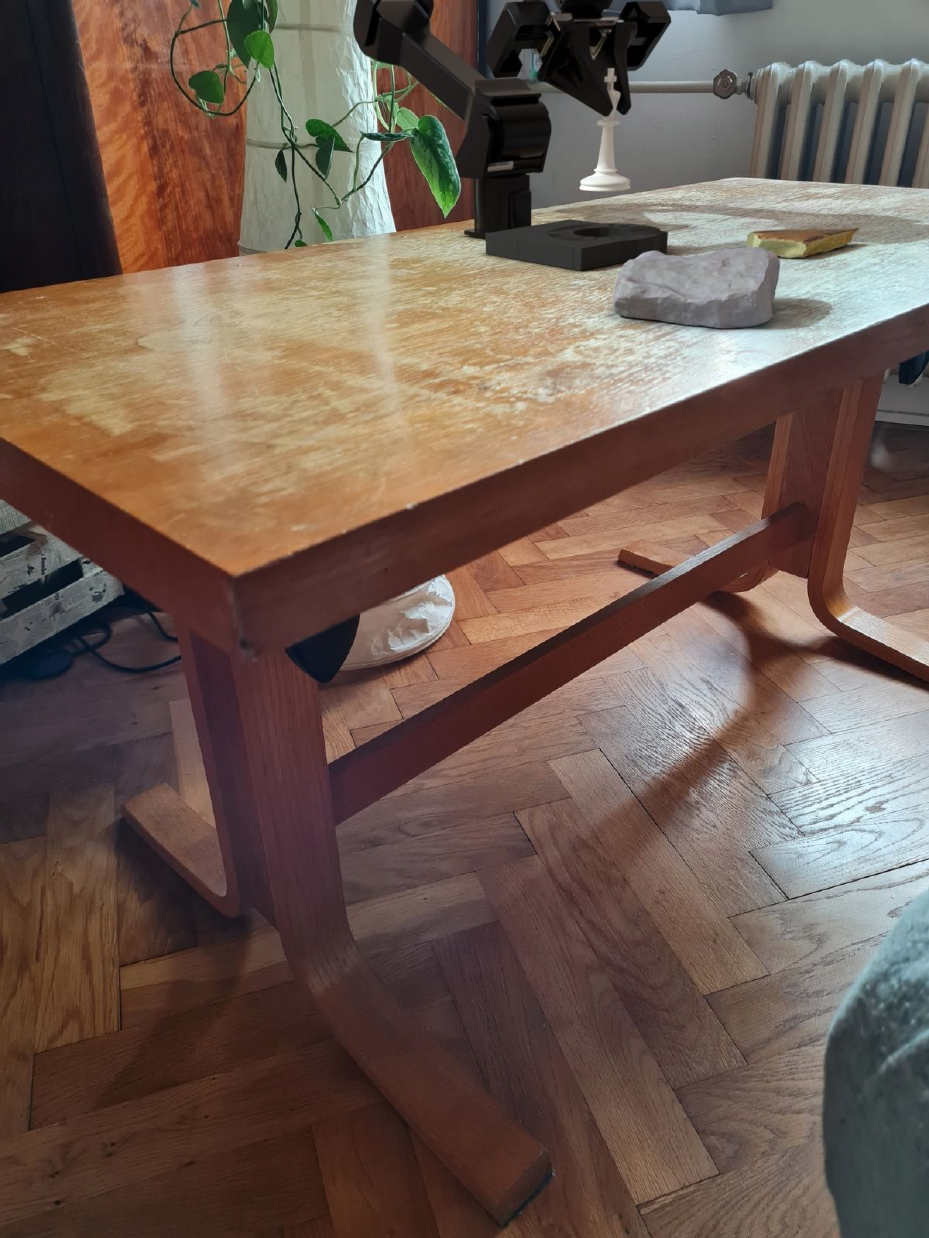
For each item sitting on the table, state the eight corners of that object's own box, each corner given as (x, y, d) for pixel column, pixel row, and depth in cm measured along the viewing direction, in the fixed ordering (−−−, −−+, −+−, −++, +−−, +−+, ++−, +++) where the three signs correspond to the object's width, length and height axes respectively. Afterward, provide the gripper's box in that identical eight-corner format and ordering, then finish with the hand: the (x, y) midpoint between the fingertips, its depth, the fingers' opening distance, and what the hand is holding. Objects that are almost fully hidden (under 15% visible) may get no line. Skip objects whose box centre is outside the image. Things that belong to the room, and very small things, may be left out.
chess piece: (570, 190, 86) (574, 69, 81) (592, 184, 90) (597, 68, 84) (617, 193, 84) (625, 68, 78) (638, 186, 87) (646, 67, 82)
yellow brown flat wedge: (856, 244, 89) (859, 224, 88) (877, 258, 82) (882, 237, 81) (744, 246, 90) (747, 227, 89) (757, 260, 84) (760, 240, 83)
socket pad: (485, 254, 92) (485, 233, 91) (580, 236, 99) (580, 217, 98) (586, 272, 82) (587, 249, 81) (683, 251, 89) (685, 230, 88)
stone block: (768, 354, 63) (778, 295, 70) (774, 288, 60) (784, 232, 67) (602, 352, 67) (627, 296, 74) (600, 289, 64) (626, 236, 70)
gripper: (501, -117, 73) (584, 39, 71) (666, -105, 81) (743, 34, 79) (452, 5, 82) (523, 145, 81) (604, 4, 91) (671, 131, 89)
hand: (618, 112), depth 82 cm, fingers closed on chess piece
